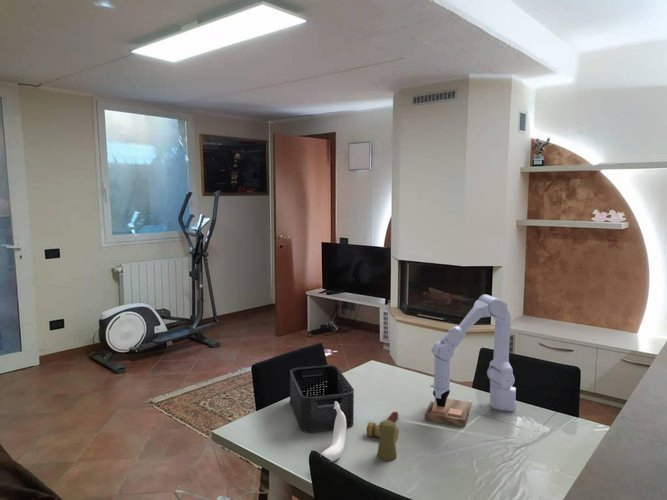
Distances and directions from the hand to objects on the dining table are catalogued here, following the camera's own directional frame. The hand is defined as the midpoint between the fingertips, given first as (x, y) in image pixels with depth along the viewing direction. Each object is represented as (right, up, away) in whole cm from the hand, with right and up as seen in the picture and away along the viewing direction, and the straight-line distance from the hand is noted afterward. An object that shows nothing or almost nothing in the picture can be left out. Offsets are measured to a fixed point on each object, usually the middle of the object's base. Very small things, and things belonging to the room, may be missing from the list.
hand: (441, 409), depth 173 cm
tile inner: (+4, -1, -5) cm, 7 cm away
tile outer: (-1, -1, -3) cm, 3 cm away
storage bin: (-45, -2, +1) cm, 45 cm away
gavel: (-21, -3, -10) cm, 23 cm away
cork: (-24, -5, -29) cm, 37 cm away
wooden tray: (+3, -2, +1) cm, 4 cm away
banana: (-40, -5, -28) cm, 49 cm away
